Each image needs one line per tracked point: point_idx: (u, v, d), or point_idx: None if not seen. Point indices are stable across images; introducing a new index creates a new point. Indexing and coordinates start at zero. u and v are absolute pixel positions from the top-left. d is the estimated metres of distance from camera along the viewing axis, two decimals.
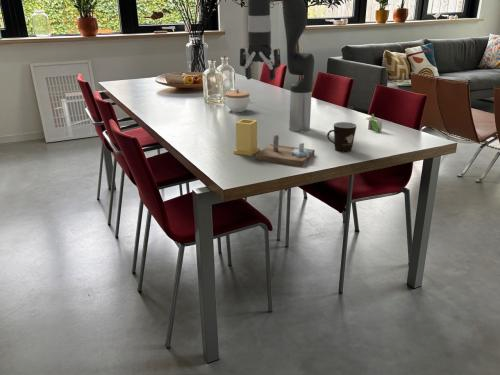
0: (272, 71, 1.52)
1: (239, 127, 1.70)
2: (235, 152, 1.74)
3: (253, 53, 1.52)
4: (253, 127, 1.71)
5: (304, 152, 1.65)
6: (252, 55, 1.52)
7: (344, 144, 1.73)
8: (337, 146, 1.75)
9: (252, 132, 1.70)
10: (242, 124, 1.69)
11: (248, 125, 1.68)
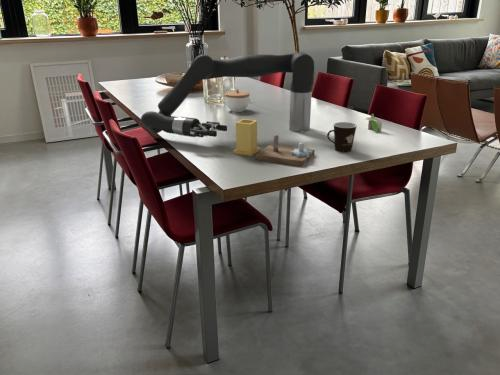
0: (208, 135, 1.75)
1: (239, 127, 1.70)
2: (235, 152, 1.74)
3: None
4: (253, 127, 1.71)
5: (304, 152, 1.65)
6: None
7: (344, 144, 1.73)
8: (337, 146, 1.75)
9: (252, 132, 1.70)
10: (242, 124, 1.69)
11: (248, 125, 1.68)
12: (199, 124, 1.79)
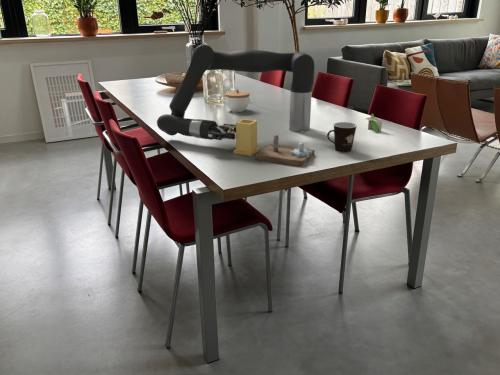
0: (226, 137, 1.72)
1: (239, 127, 1.70)
2: (235, 152, 1.74)
3: None
4: (253, 127, 1.71)
5: (304, 152, 1.65)
6: None
7: (344, 144, 1.73)
8: (337, 146, 1.75)
9: (252, 132, 1.70)
10: (242, 124, 1.69)
11: (248, 125, 1.68)
12: (217, 126, 1.76)
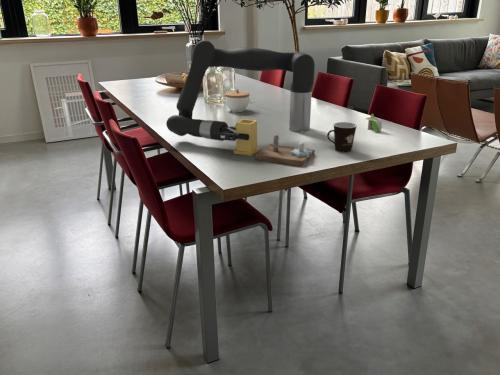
0: (240, 138, 1.70)
1: (239, 127, 1.70)
2: (235, 152, 1.74)
3: None
4: (253, 127, 1.71)
5: (304, 152, 1.65)
6: None
7: (344, 144, 1.73)
8: (337, 146, 1.75)
9: (252, 132, 1.70)
10: (242, 124, 1.69)
11: (248, 125, 1.68)
12: (227, 127, 1.74)
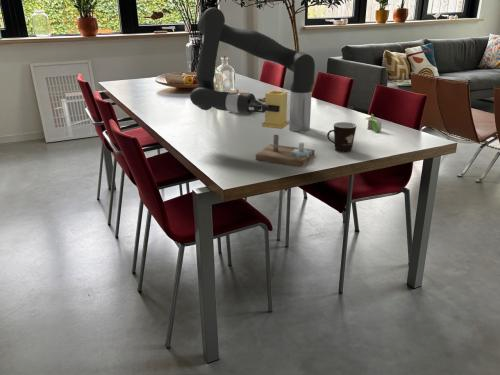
0: (270, 110, 1.61)
1: (268, 99, 1.61)
2: (264, 125, 1.65)
3: None
4: (283, 98, 1.61)
5: (304, 152, 1.65)
6: None
7: (344, 144, 1.73)
8: (337, 146, 1.75)
9: (282, 104, 1.61)
10: (272, 95, 1.60)
11: (278, 96, 1.59)
12: None
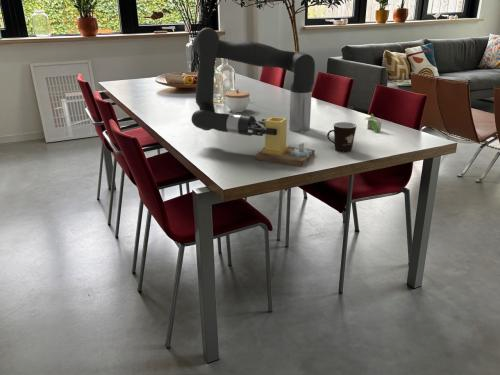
0: (267, 133, 1.64)
1: (268, 126, 1.65)
2: (264, 151, 1.68)
3: None
4: (283, 125, 1.65)
5: (304, 152, 1.65)
6: None
7: (344, 144, 1.73)
8: (337, 146, 1.75)
9: (282, 130, 1.65)
10: (272, 122, 1.64)
11: (278, 123, 1.63)
12: (256, 122, 1.68)
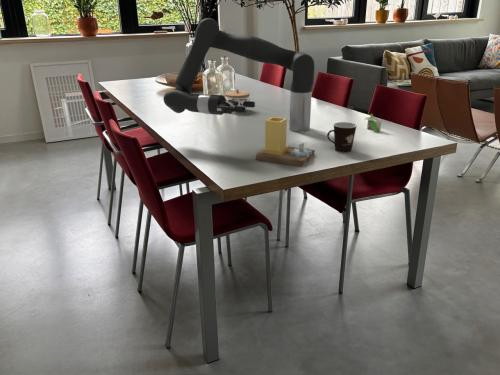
0: (236, 111, 1.66)
1: (268, 126, 1.65)
2: (264, 151, 1.68)
3: None
4: (283, 125, 1.65)
5: (304, 152, 1.65)
6: None
7: (344, 144, 1.73)
8: (337, 146, 1.75)
9: (282, 130, 1.65)
10: (272, 122, 1.64)
11: (278, 123, 1.63)
12: (226, 101, 1.71)
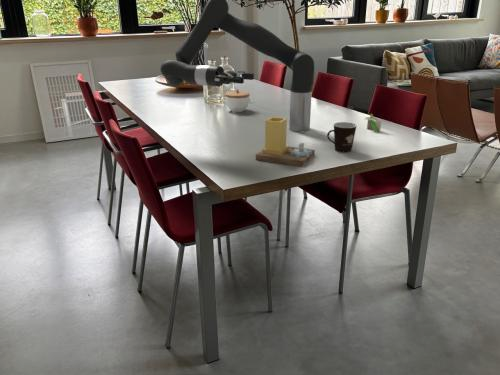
0: (234, 82, 1.62)
1: (268, 126, 1.65)
2: (264, 151, 1.68)
3: None
4: (283, 125, 1.65)
5: (304, 152, 1.65)
6: None
7: (344, 144, 1.73)
8: (337, 146, 1.75)
9: (282, 130, 1.65)
10: (272, 122, 1.64)
11: (278, 123, 1.63)
12: None
